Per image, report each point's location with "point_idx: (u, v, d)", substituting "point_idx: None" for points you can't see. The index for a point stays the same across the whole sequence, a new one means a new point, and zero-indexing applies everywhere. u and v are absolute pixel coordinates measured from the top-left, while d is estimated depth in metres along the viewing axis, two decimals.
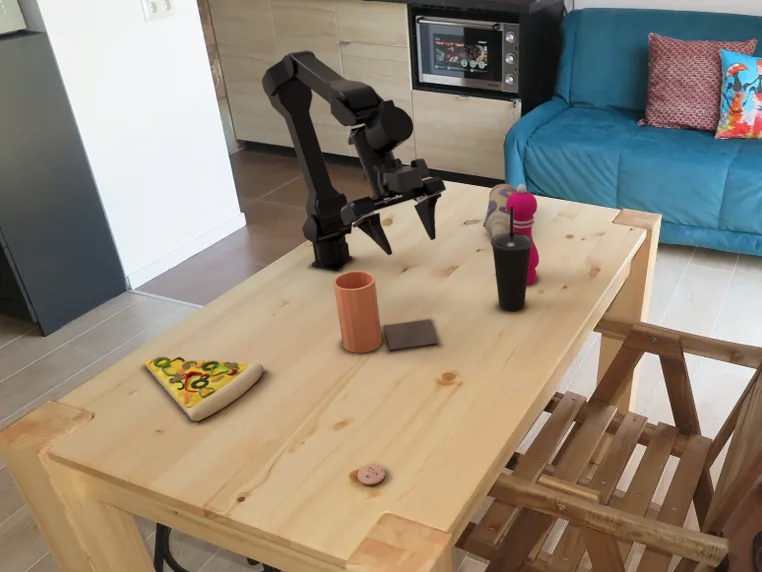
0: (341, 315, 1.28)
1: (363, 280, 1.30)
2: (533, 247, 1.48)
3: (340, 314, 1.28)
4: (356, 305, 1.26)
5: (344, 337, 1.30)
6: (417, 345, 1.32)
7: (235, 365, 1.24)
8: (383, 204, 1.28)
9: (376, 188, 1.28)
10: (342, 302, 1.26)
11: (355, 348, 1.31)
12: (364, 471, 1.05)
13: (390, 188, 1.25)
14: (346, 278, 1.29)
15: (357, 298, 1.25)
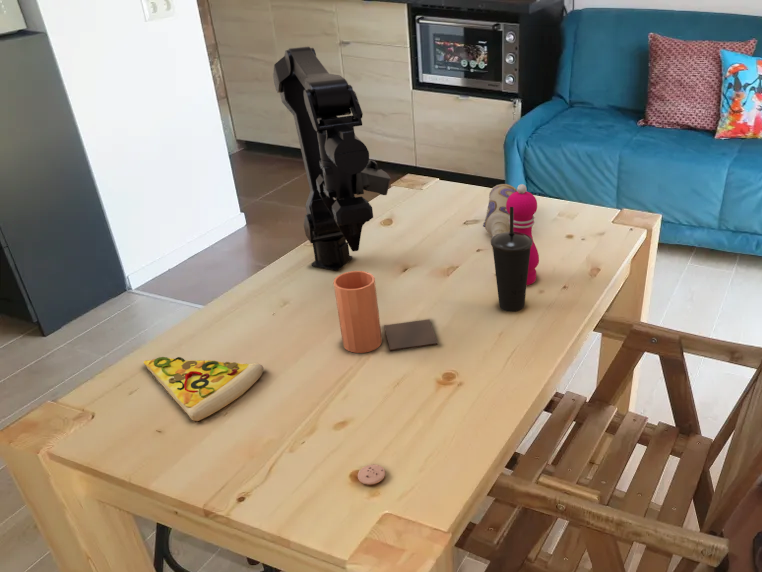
0: (341, 315, 1.28)
1: (363, 280, 1.30)
2: (533, 247, 1.48)
3: (340, 314, 1.28)
4: (356, 305, 1.26)
5: (344, 337, 1.30)
6: (417, 345, 1.32)
7: (235, 365, 1.24)
8: None
9: (349, 186, 1.30)
10: (342, 302, 1.26)
11: (355, 348, 1.31)
12: (364, 471, 1.05)
13: (371, 189, 1.32)
14: (346, 278, 1.29)
15: (357, 298, 1.25)
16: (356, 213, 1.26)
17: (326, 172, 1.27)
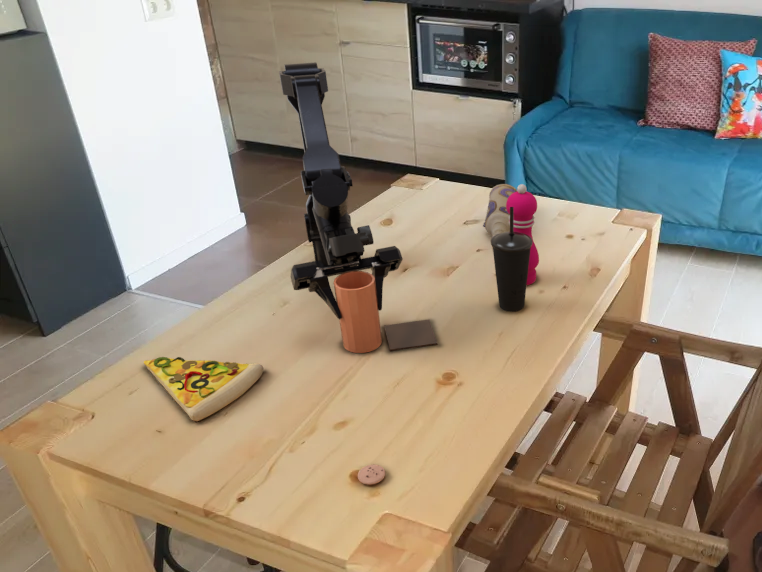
0: (341, 315, 1.28)
1: (363, 280, 1.30)
2: (533, 247, 1.48)
3: None
4: (356, 305, 1.26)
5: (344, 337, 1.30)
6: (417, 345, 1.32)
7: (235, 365, 1.24)
8: (339, 269, 1.29)
9: (327, 255, 1.28)
10: (342, 302, 1.26)
11: (355, 348, 1.31)
12: (364, 471, 1.05)
13: (332, 253, 1.25)
14: (346, 278, 1.29)
15: (357, 298, 1.25)
16: (292, 277, 1.26)
17: None
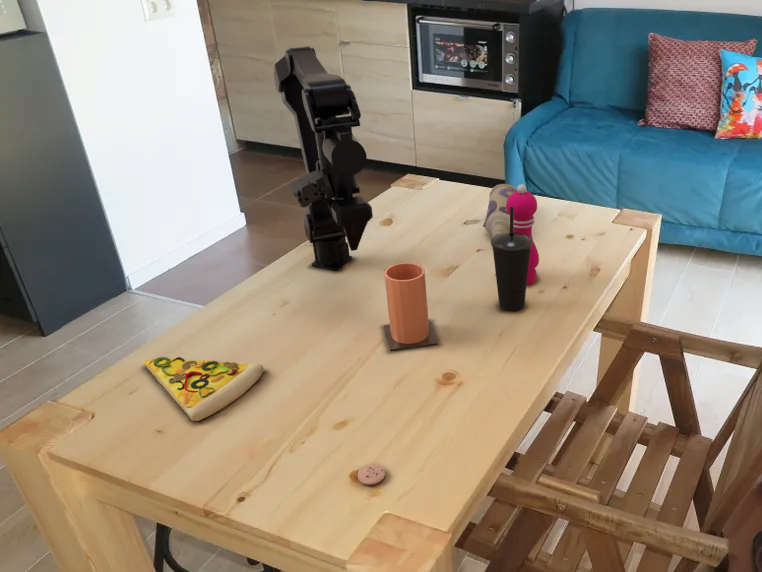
0: (391, 306, 1.29)
1: (412, 272, 1.31)
2: (533, 247, 1.48)
3: (390, 305, 1.30)
4: (407, 296, 1.27)
5: (393, 328, 1.32)
6: (417, 345, 1.32)
7: (235, 365, 1.24)
8: None
9: None
10: (393, 293, 1.27)
11: (404, 339, 1.32)
12: (364, 471, 1.05)
13: None
14: (395, 270, 1.31)
15: (408, 289, 1.27)
16: None
17: None
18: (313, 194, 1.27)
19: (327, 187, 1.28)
